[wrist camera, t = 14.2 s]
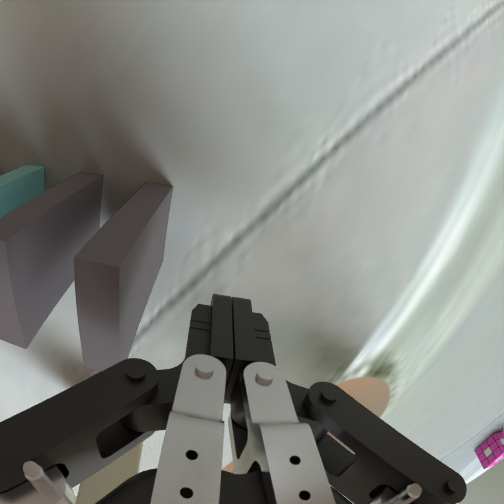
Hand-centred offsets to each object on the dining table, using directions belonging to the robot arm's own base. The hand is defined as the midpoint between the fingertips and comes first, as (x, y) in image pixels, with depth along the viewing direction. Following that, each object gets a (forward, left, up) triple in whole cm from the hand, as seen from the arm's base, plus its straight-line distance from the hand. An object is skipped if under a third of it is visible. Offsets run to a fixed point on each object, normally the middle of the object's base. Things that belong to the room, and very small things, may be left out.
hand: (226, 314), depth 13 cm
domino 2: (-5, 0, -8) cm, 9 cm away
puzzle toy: (+61, -34, -8) cm, 71 cm away
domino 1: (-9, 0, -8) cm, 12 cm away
